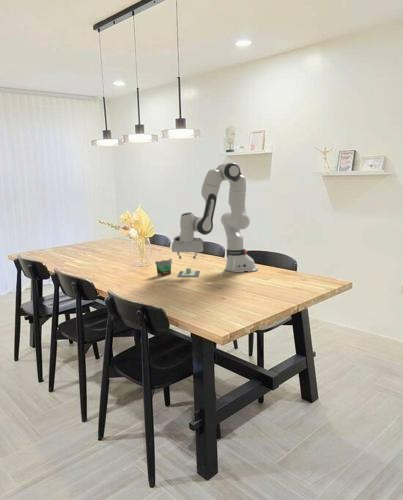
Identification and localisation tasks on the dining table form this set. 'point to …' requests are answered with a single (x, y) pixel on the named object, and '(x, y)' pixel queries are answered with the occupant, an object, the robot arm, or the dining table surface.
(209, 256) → the dining table surface
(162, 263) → the food container
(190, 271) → the lid
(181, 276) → the mat
